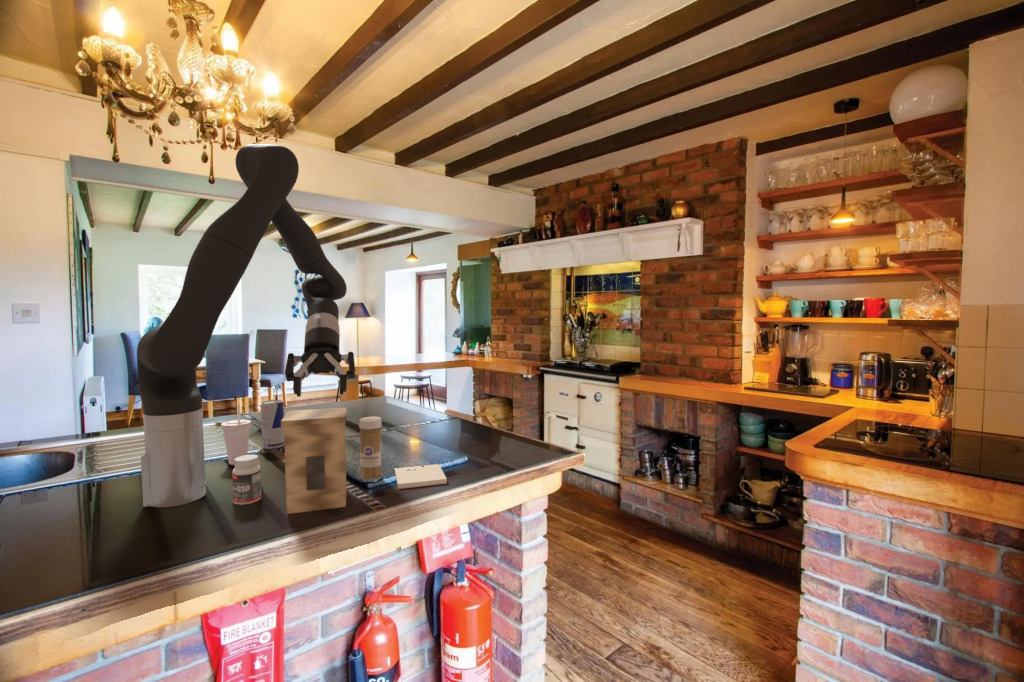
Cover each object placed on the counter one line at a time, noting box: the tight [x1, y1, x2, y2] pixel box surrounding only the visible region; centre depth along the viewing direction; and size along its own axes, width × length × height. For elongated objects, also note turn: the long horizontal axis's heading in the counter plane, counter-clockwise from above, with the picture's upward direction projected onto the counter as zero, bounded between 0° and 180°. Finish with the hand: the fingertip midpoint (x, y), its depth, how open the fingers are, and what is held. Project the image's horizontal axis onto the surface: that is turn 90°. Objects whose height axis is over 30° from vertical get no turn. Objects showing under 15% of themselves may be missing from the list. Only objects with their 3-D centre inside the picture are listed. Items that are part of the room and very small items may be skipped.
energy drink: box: [260, 399, 285, 450], centre depth 128 cm, size 5×5×12 cm
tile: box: [393, 463, 448, 490], centre depth 104 cm, size 10×10×1 cm
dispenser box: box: [281, 406, 348, 515], centre depth 91 cm, size 11×9×17 cm
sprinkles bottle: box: [358, 416, 383, 479], centre depth 103 cm, size 5×5×13 cm
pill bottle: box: [231, 454, 262, 506], centre depth 92 cm, size 5×5×8 cm
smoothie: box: [220, 403, 252, 466], centre depth 114 cm, size 6×6×14 cm
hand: (320, 393), depth 102 cm, fingers open, 8 cm apart
